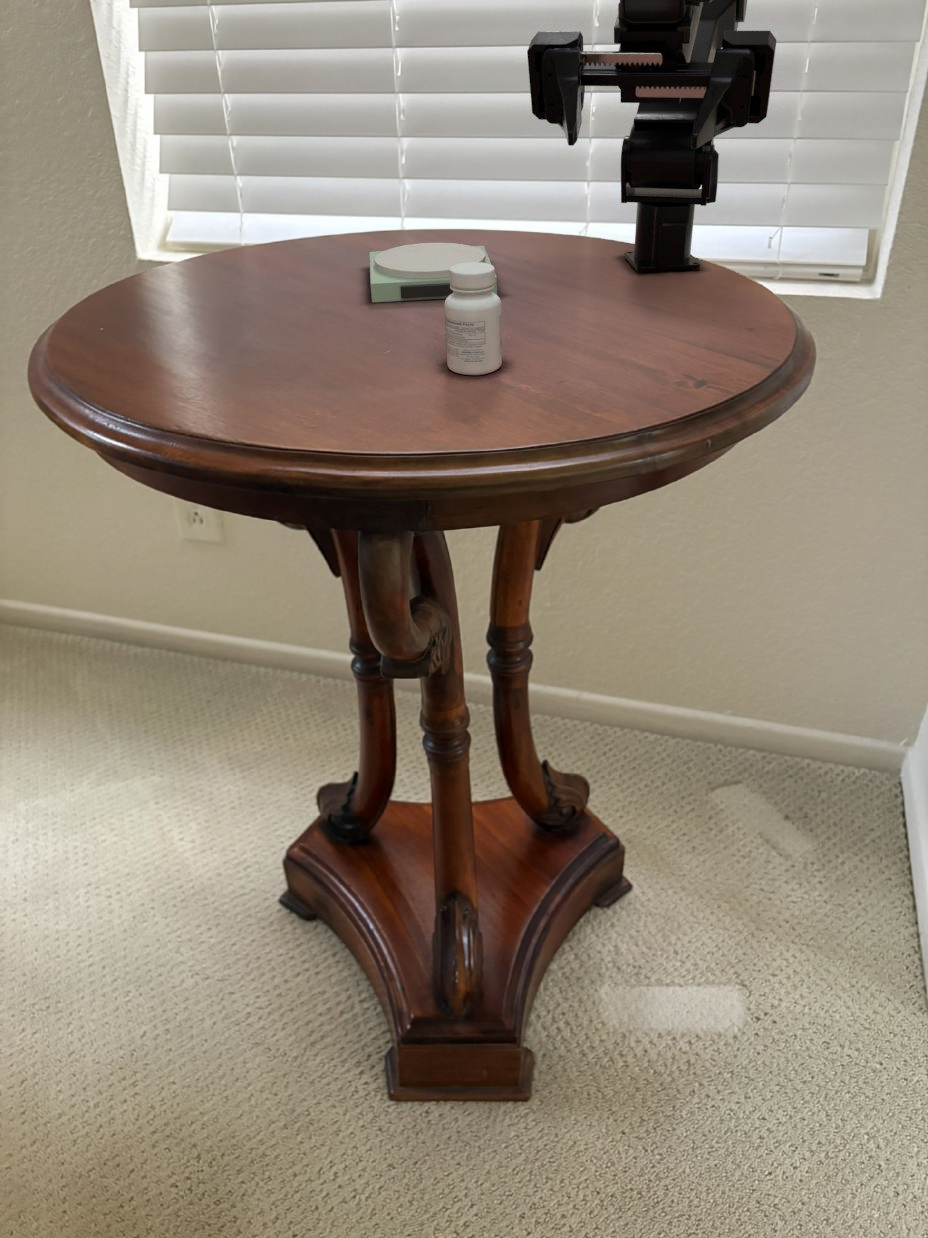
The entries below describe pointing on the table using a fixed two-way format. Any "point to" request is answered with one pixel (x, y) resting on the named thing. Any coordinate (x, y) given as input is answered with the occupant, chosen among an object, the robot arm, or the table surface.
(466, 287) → the pill bottle
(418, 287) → the scale
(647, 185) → the robot arm
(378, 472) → the table surface
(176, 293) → the table surface
